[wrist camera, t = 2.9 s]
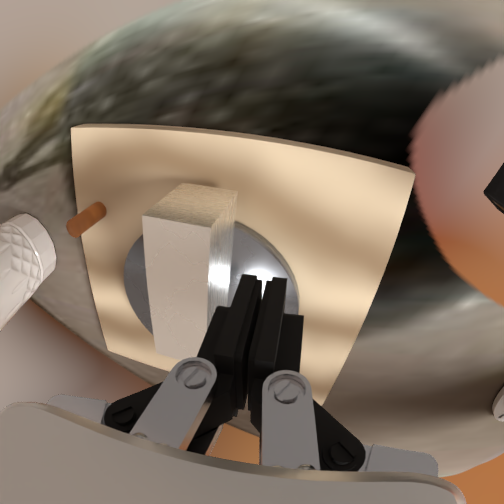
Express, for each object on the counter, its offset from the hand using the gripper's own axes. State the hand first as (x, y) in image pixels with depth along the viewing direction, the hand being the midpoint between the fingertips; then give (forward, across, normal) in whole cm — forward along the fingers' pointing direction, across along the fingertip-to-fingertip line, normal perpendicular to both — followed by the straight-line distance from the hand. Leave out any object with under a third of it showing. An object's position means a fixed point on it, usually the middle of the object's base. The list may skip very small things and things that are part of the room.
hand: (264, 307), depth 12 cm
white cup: (+9, +23, +4) cm, 25 cm away
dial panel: (+8, +4, +5) cm, 11 cm away
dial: (+7, +4, +4) cm, 9 cm away
